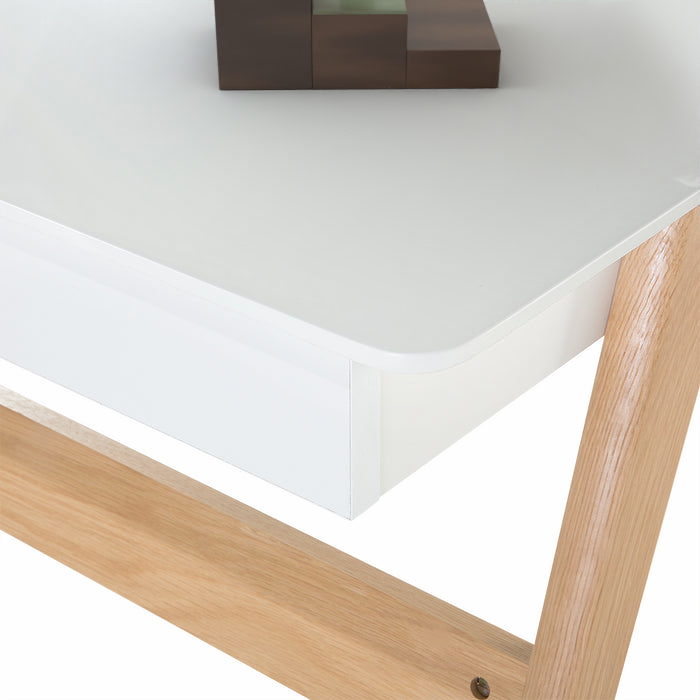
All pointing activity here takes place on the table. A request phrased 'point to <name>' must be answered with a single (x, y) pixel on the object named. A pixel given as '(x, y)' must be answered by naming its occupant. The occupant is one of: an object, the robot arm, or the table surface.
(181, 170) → the table surface
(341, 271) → the table surface
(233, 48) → the stepped wooden block
